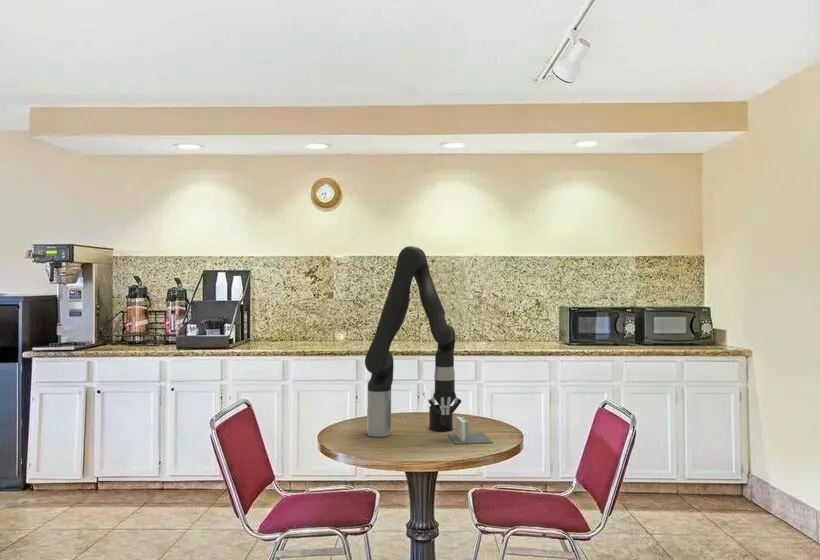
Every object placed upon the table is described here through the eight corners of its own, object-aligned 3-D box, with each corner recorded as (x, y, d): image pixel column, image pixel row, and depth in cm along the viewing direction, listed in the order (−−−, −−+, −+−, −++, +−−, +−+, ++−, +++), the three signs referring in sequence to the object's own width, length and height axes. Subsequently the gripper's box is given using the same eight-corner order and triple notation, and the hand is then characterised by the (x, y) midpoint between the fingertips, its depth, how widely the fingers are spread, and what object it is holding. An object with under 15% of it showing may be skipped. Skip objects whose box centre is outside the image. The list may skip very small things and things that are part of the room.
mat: (455, 444, 201) (455, 443, 201) (447, 435, 214) (447, 433, 214) (492, 443, 203) (492, 441, 203) (482, 433, 216) (482, 432, 216)
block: (461, 441, 203) (461, 422, 204) (456, 435, 212) (456, 416, 212) (468, 441, 204) (468, 421, 204) (462, 434, 213) (462, 416, 213)
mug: (441, 424, 233) (441, 402, 233) (457, 430, 222) (457, 407, 222) (421, 426, 228) (421, 404, 228) (437, 433, 218) (437, 409, 218)
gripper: (429, 380, 203) (429, 427, 203) (464, 379, 205) (464, 426, 204) (425, 377, 210) (425, 422, 210) (459, 376, 212) (459, 421, 212)
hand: (444, 424), depth 207 cm, fingers closed
